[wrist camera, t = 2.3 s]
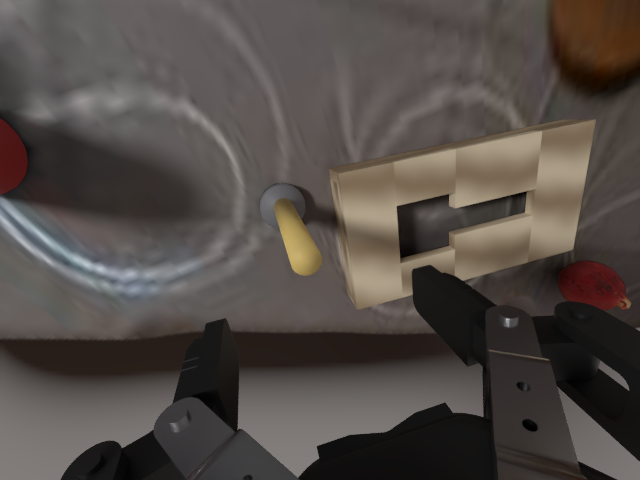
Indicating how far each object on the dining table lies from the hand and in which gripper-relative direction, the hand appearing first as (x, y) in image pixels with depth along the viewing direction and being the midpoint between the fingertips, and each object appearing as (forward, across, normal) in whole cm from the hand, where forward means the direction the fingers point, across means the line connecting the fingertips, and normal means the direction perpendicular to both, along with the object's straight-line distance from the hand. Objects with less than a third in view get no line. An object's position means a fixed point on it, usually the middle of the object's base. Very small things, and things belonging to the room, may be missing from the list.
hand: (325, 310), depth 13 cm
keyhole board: (+18, -18, +4) cm, 26 cm away
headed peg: (+18, 0, 0) cm, 18 cm away
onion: (+18, -34, +17) cm, 42 cm away
